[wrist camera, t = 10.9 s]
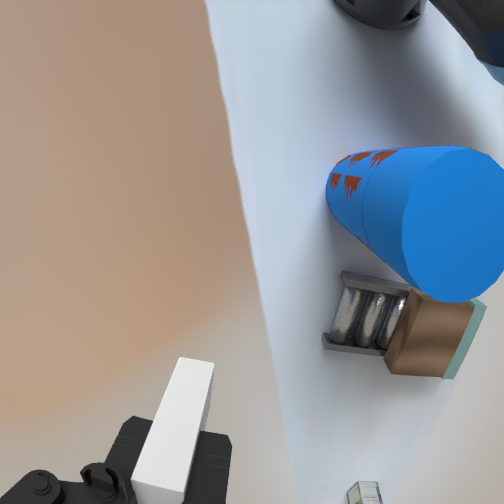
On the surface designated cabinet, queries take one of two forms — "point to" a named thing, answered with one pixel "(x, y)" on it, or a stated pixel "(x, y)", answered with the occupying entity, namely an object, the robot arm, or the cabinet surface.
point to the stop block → (466, 338)
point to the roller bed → (366, 315)
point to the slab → (427, 335)
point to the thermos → (426, 215)
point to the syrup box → (364, 493)
